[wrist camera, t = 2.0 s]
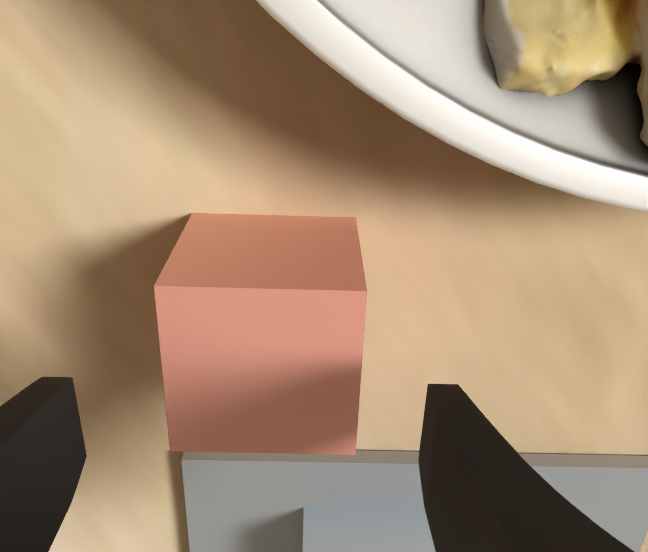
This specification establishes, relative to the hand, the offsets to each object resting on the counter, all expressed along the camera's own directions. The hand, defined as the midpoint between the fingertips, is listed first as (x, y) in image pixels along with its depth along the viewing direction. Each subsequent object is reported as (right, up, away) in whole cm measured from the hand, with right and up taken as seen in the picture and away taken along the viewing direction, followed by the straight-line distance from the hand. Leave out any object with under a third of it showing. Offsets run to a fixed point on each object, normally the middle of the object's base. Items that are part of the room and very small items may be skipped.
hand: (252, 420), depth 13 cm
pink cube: (0, +3, +5) cm, 6 cm away
